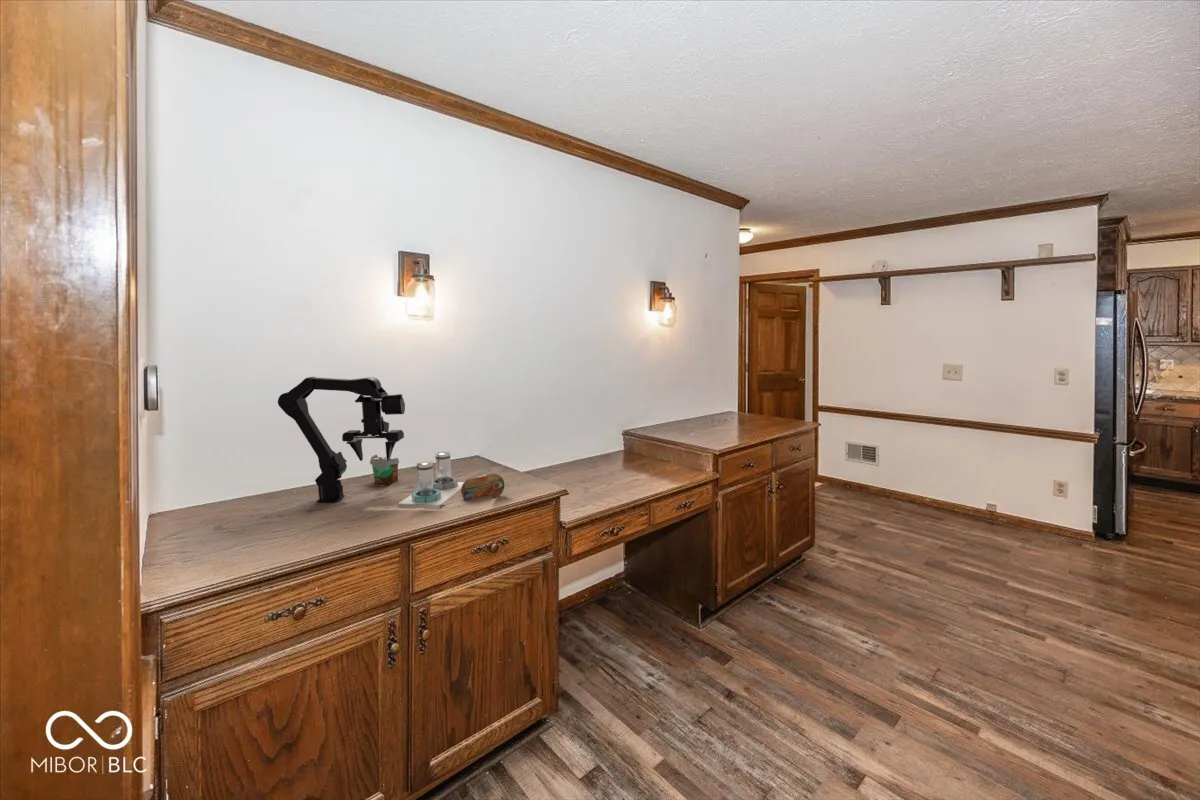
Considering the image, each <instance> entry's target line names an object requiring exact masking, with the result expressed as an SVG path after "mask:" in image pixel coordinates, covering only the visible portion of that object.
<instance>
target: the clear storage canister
mask: <svg viewBox="0 0 1200 800" xmlns="http://www.w3.org/2000/svg"><path fill="white" fill-rule="evenodd" d="M433 463H434V462H433V461H429V460H427V461H418V462H417V463H416V475H417V476H416V478H417V480H416V481H417V491H418V496H429V495H434V464H433Z"/></svg>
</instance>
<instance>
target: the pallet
mask: <svg viewBox="0 0 1200 800" xmlns="http://www.w3.org/2000/svg"><path fill="white" fill-rule="evenodd" d="M433 480H434V495H429V496H418V490H415V491H414V492H412V493H411V495H409V496H407V497H406V498H404V499H403V500H401V501H400V502H398V506H397V507H398V508H399V509H415V508H424V509H423V510H441V509H442V508H444V507H446V504H443V503H445V502H446V501H447V500H448V499H450V498H451V497H452V496H454V495H455V494H456V493H457V492H459V491H461V488H462V485H463V483H464V482H465V481H458V478H455V477H452V476H451V482H450V483H444V484H442V483H437V478H435V479H434V478H433ZM443 506H444V507H443Z"/></svg>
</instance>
